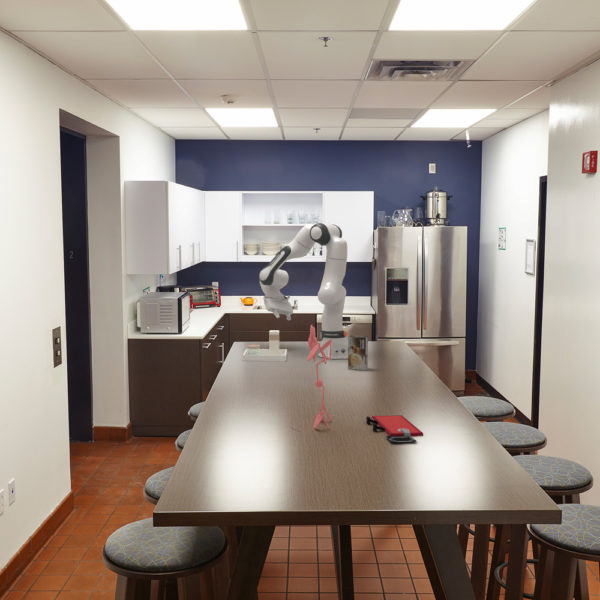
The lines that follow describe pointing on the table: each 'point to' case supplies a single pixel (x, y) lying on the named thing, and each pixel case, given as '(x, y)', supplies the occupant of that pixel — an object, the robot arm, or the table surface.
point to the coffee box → (357, 352)
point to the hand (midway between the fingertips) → (284, 318)
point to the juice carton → (274, 342)
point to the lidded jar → (253, 349)
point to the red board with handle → (395, 427)
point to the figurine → (314, 347)
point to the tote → (265, 356)
